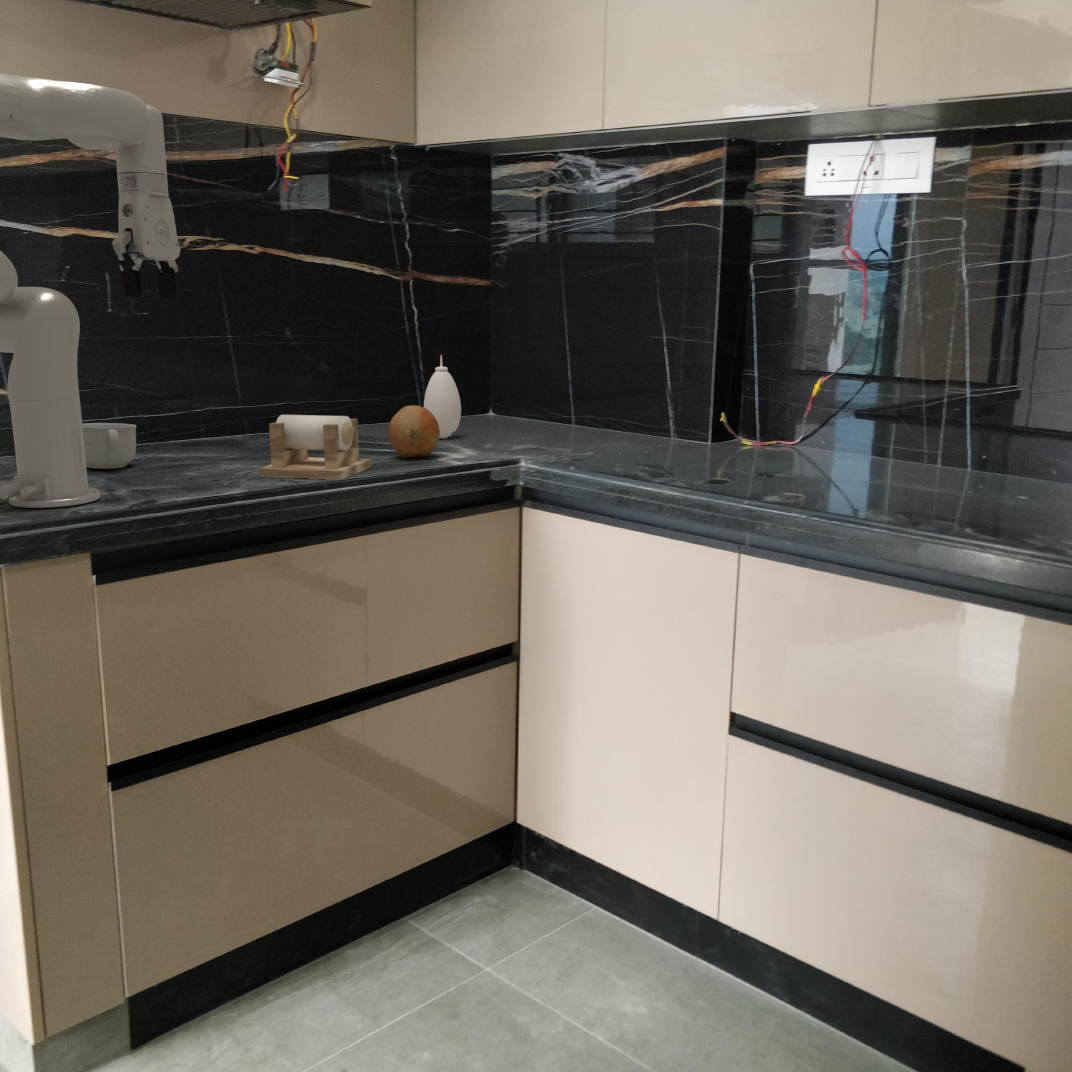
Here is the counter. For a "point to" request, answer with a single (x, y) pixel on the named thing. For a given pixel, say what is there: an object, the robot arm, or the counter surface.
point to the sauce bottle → (443, 401)
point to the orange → (414, 432)
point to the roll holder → (302, 466)
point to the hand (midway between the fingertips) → (152, 296)
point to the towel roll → (314, 431)
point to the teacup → (109, 444)
